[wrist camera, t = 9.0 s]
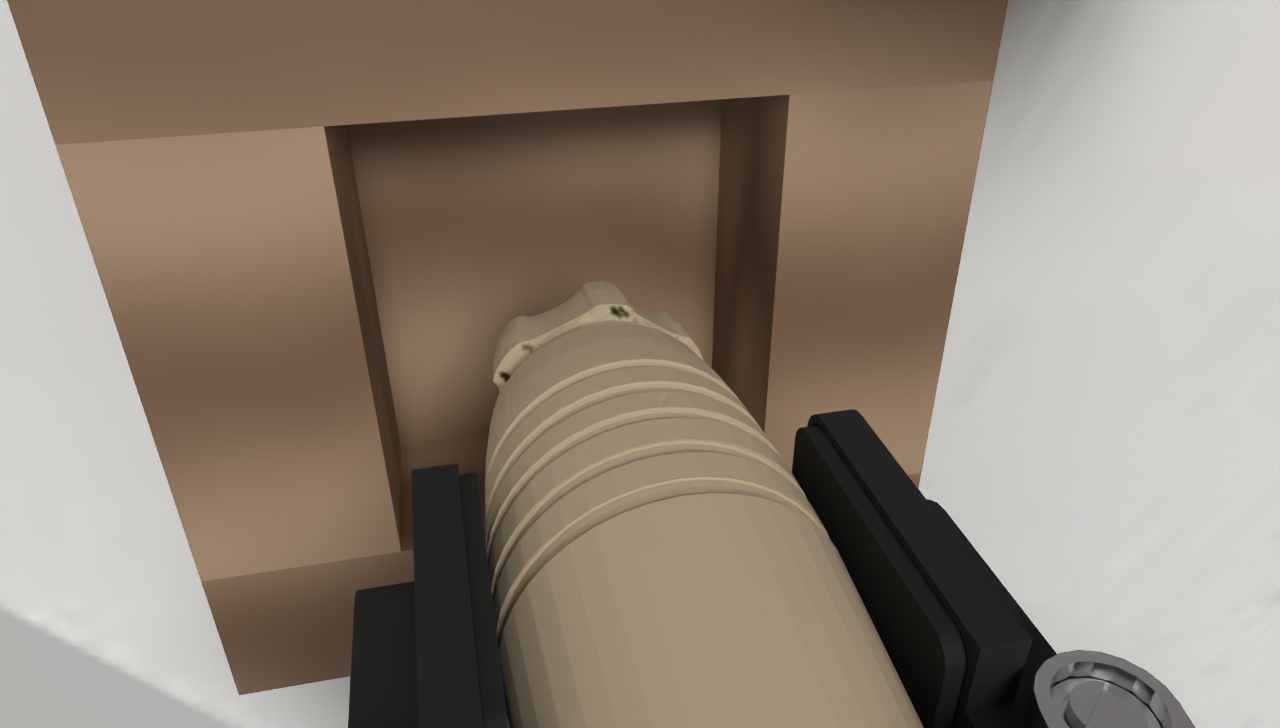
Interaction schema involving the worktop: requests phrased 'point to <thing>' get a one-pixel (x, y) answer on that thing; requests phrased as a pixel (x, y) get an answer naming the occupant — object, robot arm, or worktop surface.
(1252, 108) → the worktop surface
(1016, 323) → the worktop surface
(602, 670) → the handle
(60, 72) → the socket block
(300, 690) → the worktop surface
